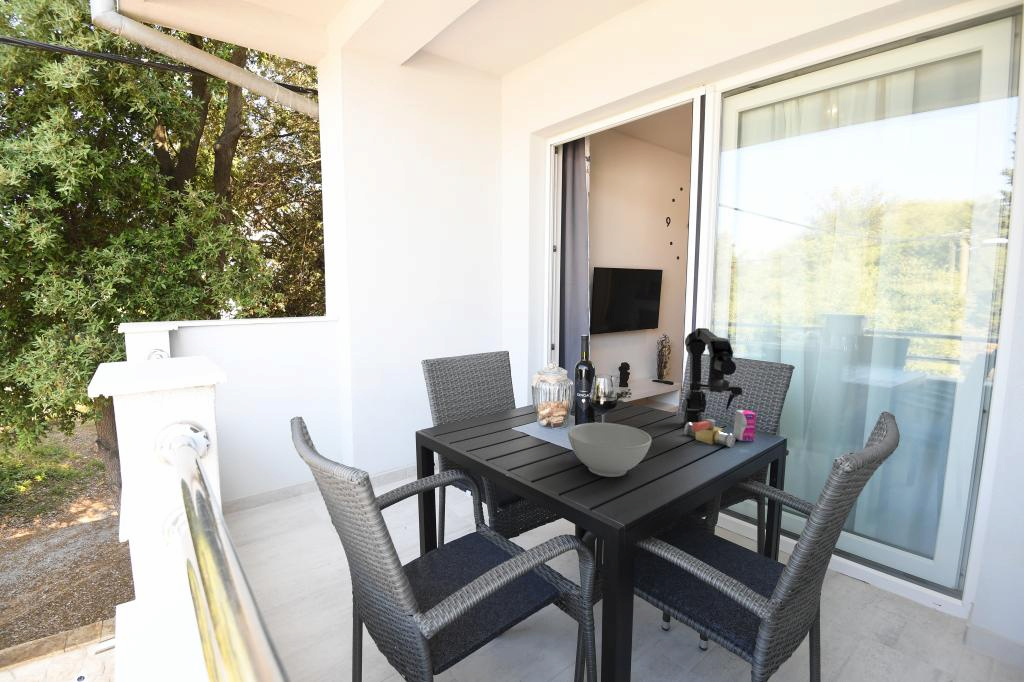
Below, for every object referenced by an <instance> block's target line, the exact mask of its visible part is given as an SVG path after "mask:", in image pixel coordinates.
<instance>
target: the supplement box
mask: <svg viewBox="0 0 1024 682" xmlns="http://www.w3.org/2000/svg"><path fill="white" fill-rule="evenodd" d="M756 420H757V414H756V413H755V412H753V411H751V410H749V409H748V410H747V409H746V410H745V409H736V410H735V416H734V425H733V433H732V434H734V435H735V440H737V441H738V442H754V439H755V430H756Z"/></svg>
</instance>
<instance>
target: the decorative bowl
mask: <svg viewBox="0 0 1024 682" xmlns="http://www.w3.org/2000/svg"><path fill="white" fill-rule="evenodd" d="M567 438H568V440H569V445H570V447H571V448H572V451H573V453H574V454H575V455H576V457H577V459H579V461H580V462H581V463H582V464H584V466H586V467H588V470H589V471H590V472H591V473H593V474H595V475H597V476H601V477H606V478H607V477H609V478H613V477H614V478H616V477H622V476H624V475H626V473H627V471H629V470H631V469H633V468H634V467H636V466H637V465H638V464H639V463H641V461H643V459H644V458H645V456H646V455H647V453H648V451H649V449H650V447H651V445H652V437H651V435H650V434H649V433H648V432H646V431H644V430H642V429H639V428H637V427H634V426H630V425H625V424H619V423H611V422H589V423H588V422H587V423H580V424H577V425H574V426H572V427H569V429H568V431H567Z"/></svg>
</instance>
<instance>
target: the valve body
mask: <svg viewBox="0 0 1024 682" xmlns="http://www.w3.org/2000/svg"><path fill="white" fill-rule="evenodd" d="M683 430H684V433H685V434H686V435H689V436H691V435H693V436H695V440H697V441H700V442H702V443H706V444H709V445H714V444H716V445H717V444H718V445H720V444H723V445H725V446H726V447H728V448H733V446H734V445H735V443H736V438H735V435H734V434H733V433H724V432H723V428H722V427H717V426H715V428H709V429H705V430H701V431H699V432H695V431H692V422H688V423H686V425H685V424H684V429H683Z"/></svg>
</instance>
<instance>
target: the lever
mask: <svg viewBox="0 0 1024 682" xmlns="http://www.w3.org/2000/svg"><path fill="white" fill-rule="evenodd" d="M715 425H716V420H715V419H712V418H705V420H703V421H702V420H701V422H698V423H696V422H693V423H692V431H695V432H699V431H701V430H705V429H709V428H715V427H716V426H715Z"/></svg>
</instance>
